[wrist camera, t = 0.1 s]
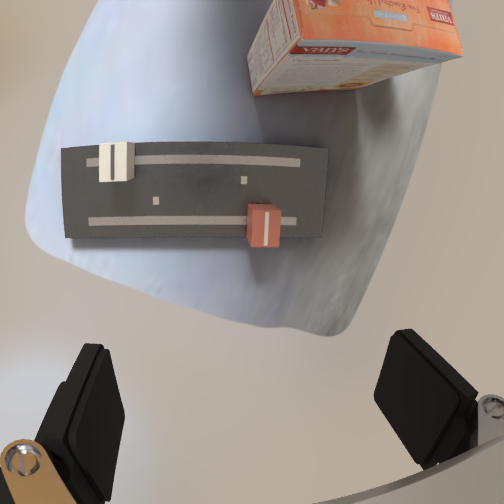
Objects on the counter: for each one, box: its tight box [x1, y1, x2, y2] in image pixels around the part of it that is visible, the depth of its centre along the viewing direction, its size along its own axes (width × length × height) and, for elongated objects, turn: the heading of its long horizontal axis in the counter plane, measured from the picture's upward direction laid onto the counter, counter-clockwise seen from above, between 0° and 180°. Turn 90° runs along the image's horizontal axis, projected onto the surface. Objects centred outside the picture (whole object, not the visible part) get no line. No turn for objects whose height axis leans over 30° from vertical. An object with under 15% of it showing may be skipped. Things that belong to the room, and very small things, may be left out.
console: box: [61, 142, 329, 238], centre depth 37 cm, size 11×32×2 cm, turn 88°
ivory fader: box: [99, 142, 135, 182], centre depth 32 cm, size 4×3×4 cm
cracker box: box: [247, 0, 463, 96], centre depth 26 cm, size 14×6×21 cm, turn 98°
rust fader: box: [246, 204, 281, 247], centre depth 36 cm, size 4×3×4 cm
